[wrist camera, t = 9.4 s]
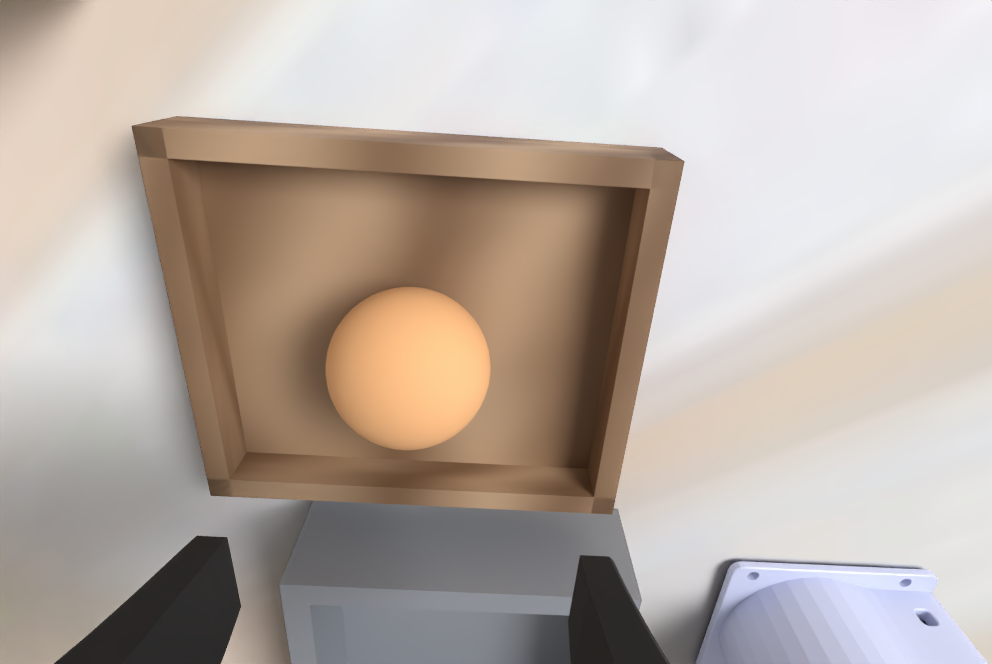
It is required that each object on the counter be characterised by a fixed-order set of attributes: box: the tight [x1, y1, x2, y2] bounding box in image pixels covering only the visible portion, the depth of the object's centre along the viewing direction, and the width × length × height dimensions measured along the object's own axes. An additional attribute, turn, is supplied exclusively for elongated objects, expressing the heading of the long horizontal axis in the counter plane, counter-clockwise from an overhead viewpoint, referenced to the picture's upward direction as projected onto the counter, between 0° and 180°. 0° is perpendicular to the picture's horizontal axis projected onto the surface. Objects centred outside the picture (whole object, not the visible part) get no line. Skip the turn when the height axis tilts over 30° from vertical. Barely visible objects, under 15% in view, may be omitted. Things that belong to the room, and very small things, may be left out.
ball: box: [325, 287, 491, 450], centre depth 17 cm, size 5×5×5 cm
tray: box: [132, 116, 684, 515], centre depth 19 cm, size 15×13×2 cm
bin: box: [279, 500, 642, 664], centre depth 25 cm, size 13×13×4 cm
